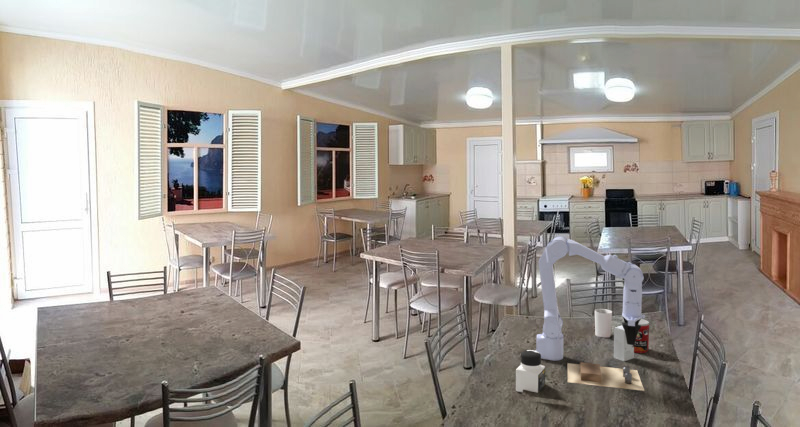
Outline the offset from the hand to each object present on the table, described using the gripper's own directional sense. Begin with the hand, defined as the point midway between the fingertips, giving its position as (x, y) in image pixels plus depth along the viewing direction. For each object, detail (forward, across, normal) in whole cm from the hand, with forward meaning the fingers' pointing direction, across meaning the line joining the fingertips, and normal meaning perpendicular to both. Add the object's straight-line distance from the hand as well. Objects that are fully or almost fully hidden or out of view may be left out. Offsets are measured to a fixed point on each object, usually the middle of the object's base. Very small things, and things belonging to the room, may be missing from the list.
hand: (630, 340), depth 171 cm
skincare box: (+10, +7, +2) cm, 13 cm away
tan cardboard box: (+9, -14, +12) cm, 20 cm away
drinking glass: (+10, +33, +10) cm, 36 cm away
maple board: (+10, -13, +8) cm, 18 cm away
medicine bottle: (+10, -29, +28) cm, 42 cm away
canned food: (+10, +21, -2) cm, 23 cm away
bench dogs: (+9, -13, +1) cm, 15 cm away
